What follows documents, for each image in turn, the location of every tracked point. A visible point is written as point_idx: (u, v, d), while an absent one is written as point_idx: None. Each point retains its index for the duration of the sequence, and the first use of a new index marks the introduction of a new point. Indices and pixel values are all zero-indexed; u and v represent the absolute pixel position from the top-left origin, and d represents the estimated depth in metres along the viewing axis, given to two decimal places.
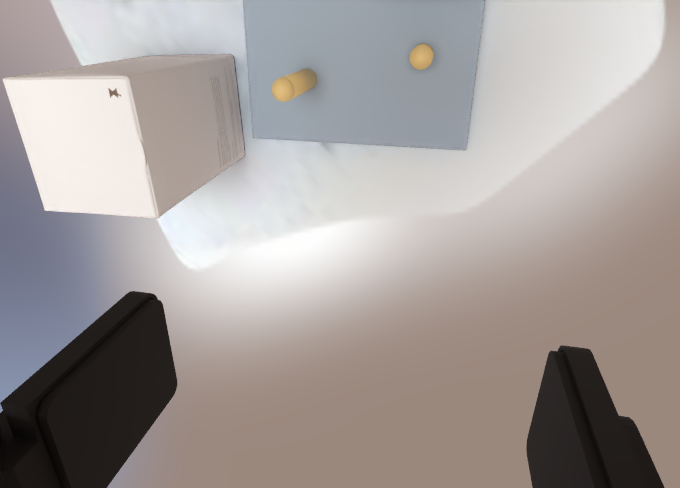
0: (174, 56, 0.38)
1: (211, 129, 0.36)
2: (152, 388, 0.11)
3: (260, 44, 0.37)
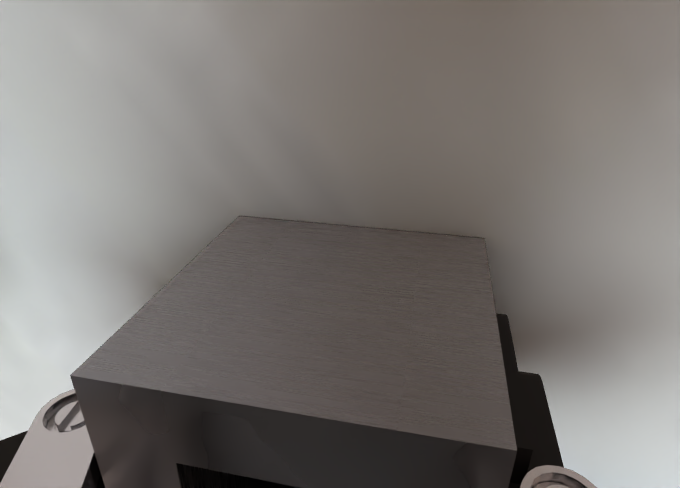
0: None
1: None
2: None
3: None
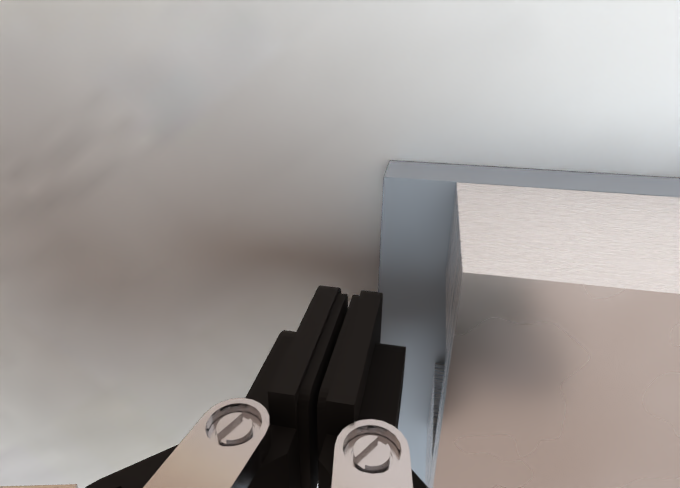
0: None
1: None
2: None
3: None
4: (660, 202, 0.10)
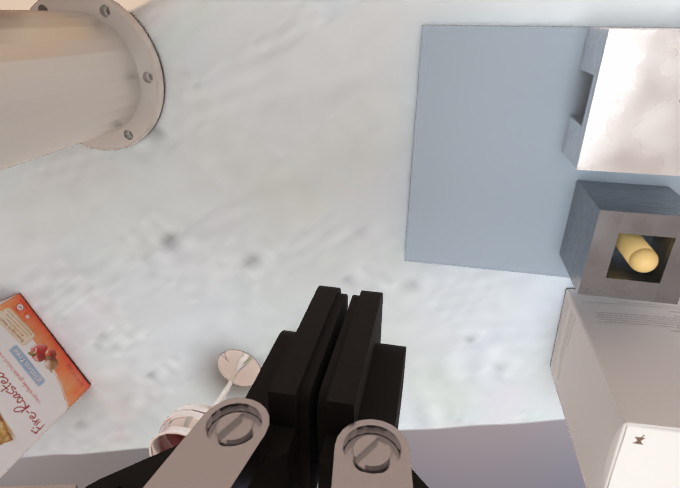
0: (563, 345, 0.39)
1: (661, 336, 0.33)
2: None
3: None
4: (665, 28, 0.29)
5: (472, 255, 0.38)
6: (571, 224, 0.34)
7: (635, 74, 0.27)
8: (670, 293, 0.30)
